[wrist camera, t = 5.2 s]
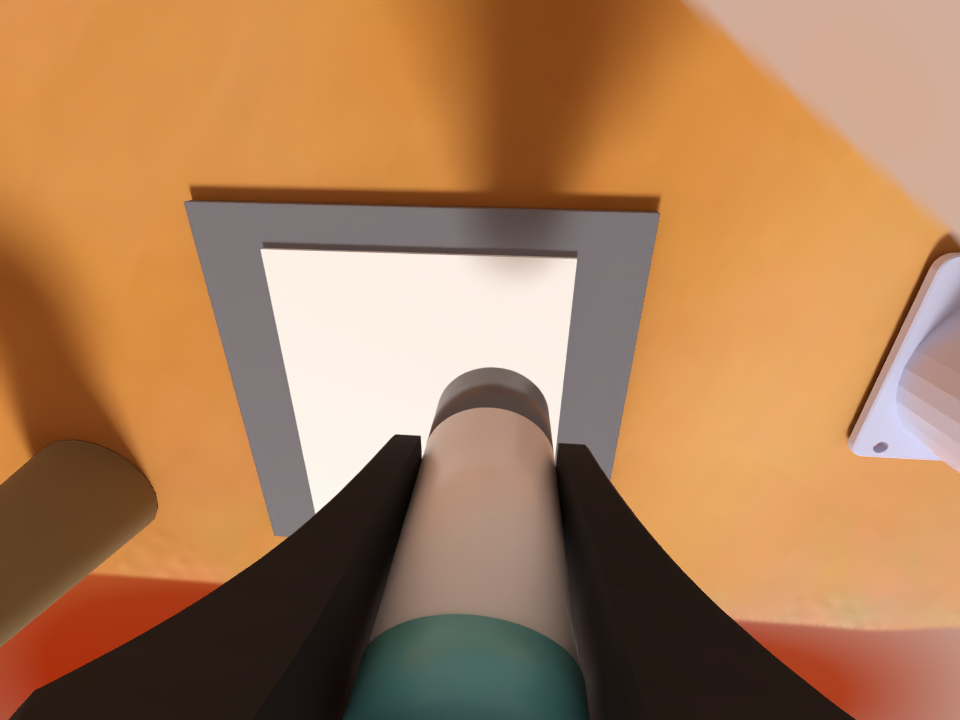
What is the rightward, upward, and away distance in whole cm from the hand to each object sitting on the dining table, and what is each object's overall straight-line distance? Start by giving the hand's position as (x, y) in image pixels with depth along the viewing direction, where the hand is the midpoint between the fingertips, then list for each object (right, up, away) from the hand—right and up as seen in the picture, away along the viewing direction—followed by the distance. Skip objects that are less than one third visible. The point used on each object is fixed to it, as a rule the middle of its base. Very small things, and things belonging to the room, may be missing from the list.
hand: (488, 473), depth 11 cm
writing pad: (-2, +1, +8) cm, 9 cm away
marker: (0, +1, +2) cm, 2 cm away
